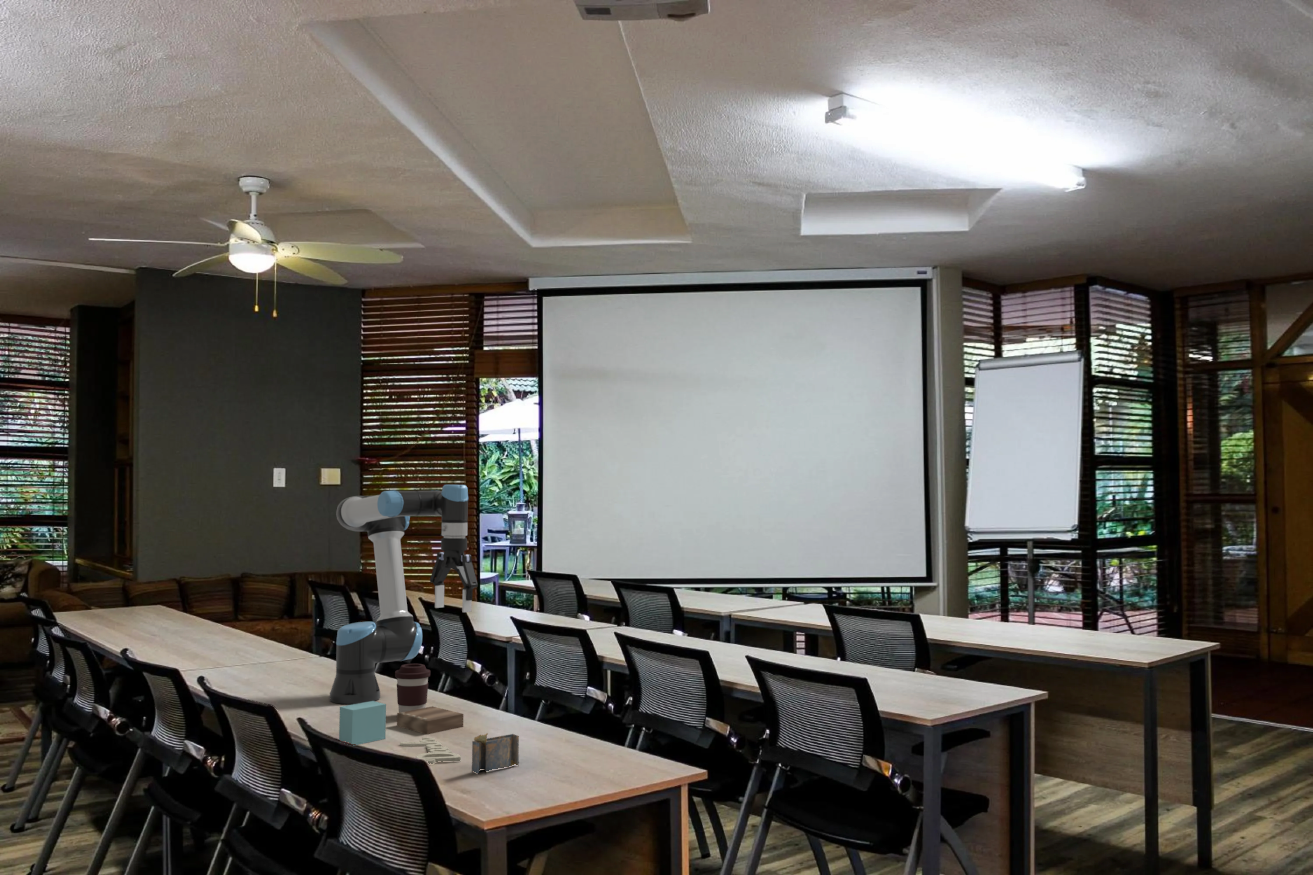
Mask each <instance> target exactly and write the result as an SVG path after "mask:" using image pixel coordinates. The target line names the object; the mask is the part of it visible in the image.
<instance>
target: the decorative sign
mask: <svg viewBox="0 0 1313 875" xmlns="http://www.w3.org/2000/svg"><path fill="white" fill-rule="evenodd" d="M399 746H401V747H425V748H426V752H424V753H419V754H416V756H415V759H416V758H419V759H424V760H426V761H428V763H429V764H430V763H431V764H433V763H435V762H438V761H441V762H443V761H460V760H461V761H462V756H461V755H460V754H458V753H455V752H453V750H451V749H450V748H449V747H447V746H442V743H441V742H440V741H438V740H437V741H436V738H434V737H422V738H421V739H420V740H419V741H402V742H399ZM427 752H430V753H427ZM461 761H460V762H461Z"/></svg>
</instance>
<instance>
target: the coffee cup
mask: <svg viewBox="0 0 1313 875" xmlns="http://www.w3.org/2000/svg"><path fill="white" fill-rule="evenodd" d="M394 677H395V678H396V680H397V682H396V698H397V699H396V700H397V705H398V713H400V712H406V711H411V710H416V709H421V708H427V706H426V705H427V702H428V691H429V682H428V681H429V677H431V670H430V669H428V668H426V665H425V664H424V663H423V664H422V663H405V664H401V665H400V667H399V669H397V670H395V671H394Z"/></svg>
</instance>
